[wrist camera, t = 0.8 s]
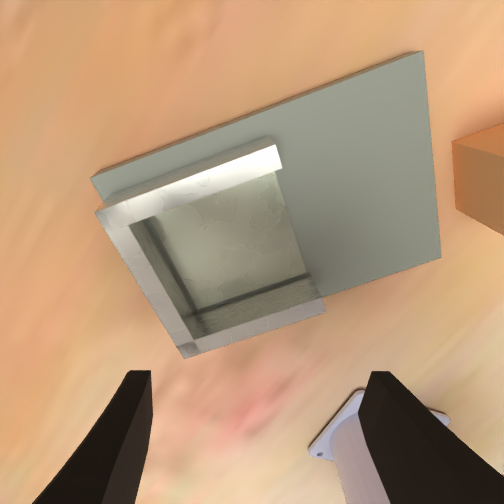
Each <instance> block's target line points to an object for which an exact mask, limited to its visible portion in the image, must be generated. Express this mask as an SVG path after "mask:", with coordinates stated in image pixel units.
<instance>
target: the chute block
mask: <svg viewBox="0 0 504 504" xmlns="http://www.w3.org/2000/svg"><path fill="white" fill-rule="evenodd" d="M452 154H453V171H454V188H455V205H456V209H458V210H459V211H461V212H463V213H465V214H466V215H468V216H470V217H472V218H474V219H475V220H477V221H479V222H481V223H482V224H484V225H486V226H488V227H489V228H491V229H493V230H495V231H496V232H498V233H500V234H502V235H503V236H504V123H502V124H499V125H496V126H494V127H491V128H488V129H485V130H483V131H480V132H477V133H474V134H471V135H469V136H466V137H463V138H460V139H458V140H455V141H452Z"/></svg>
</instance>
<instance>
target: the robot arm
mask: <svg viewBox="0 0 504 504" xmlns="http://www.w3.org/2000/svg"><path fill="white" fill-rule="evenodd" d="M152 418H153V406H152V385H151V370H130V371H129V372H128V373H127V374H126V376H125V378H124V379H123V381H122V383H121V385H120V386H119V388H118V390H117V391H116V393H115V395H114V396H113V398H112V399H111V401H110V402H109V404H108V405H107V407H106V409H105V410H104V412H103V413H102V414H101V416H100V417H99V419H98V420H97V422H96V423H95V424H94V426H93V427H92V429H91V430H90V432H89V433H88V434H87V436H86V437H85V439H84V440H83V441H82V443H81V444H80V445H79V447H78V448H77V449H76V450H75V452H74V453H73V454H72V456H71V457H70V458H69V460H68V461H67V462H66V463H65V465H64V466H63V467H62V469H61V470H60V471H59V472H58V473H57V475H56V476H55V477H54V478H53V480H52V481H51V482H50V483H49V484H48V486H47V487H46V488H45V489H44V490H43V491H42V493H41V494H40V495H39V496H38V497H37V498H36V499H35V501H34V502H33V503H32V504H135V500H136V496H137V492H138V488H139V484H140V480H141V476H142V472H143V468H144V464H145V460H146V455H147V451H148V445H149V439H150V432H151V425H152ZM449 423H450V418H449V417H448V416H447V415H445V414H442V413H438V412H435V411H432V410H428V409H427V408H426V407H425V406H424V405H423V404H422V403H421V402H420V401H419V400H418V399H417V398H416V397H415V396H414V395H413V394H412V393H411V392H410V391H409V390H408V389H407V388H406V387H405V386H404V385H403V384H402V383H401V382H400V381H399V380H398V379H397V378H396V377H395V376H394V375H393V374H391V373H390V372H389V371H372V373H371V375H370V378H369V381H368V384H367V387H366V390H365V391H364V390H358V391H356V392H355V393H354V394H353V396H352V397H351V398H350V399H349V400H348V402H347V403H346V404H345V405H344V406H343V408H342V409H341V410H340V411H339V412H338V414H337V415H336V416H335V417H334V418H333V420H332V421H331V422H330V423H329V424H328V426H327V427H326V428H325V429H324V430H323V432H322V433H321V434H320V435H319V436H318V438H317V439H316V440H315V441H314V442H313V444H312V445H311V446H310V447H309V449H308V452H309V455H310V456H312V457H317V458H322V459H326V460H331V461H334V462H335V466H336V469H337V472H338V475H339V479H340V482H341V485H342V489H343V492H344V495H345V499H346V502H347V504H504V477H503V475H501V474H500V473H499V472H497V471H496V470H495V469H494V468H493V467H491V466H490V465H489V464H488V463H487V462H485V461H484V460H483V459H482V458H481V457H480V456H478V455H477V454H476V453H475V452H474V451H473V450H472V449H470V448H469V447H468V446H467V445H466V444H465V443H464V442H462V441H461V440H460V439H459V438H458V437H457V436H456V435H455V434H454V433H453V432H452V431H450V430H449V429H448V428H447V427H446V426H447V425H448V424H449Z"/></svg>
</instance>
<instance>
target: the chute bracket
mask: <svg viewBox="0 0 504 504" xmlns="http://www.w3.org/2000/svg"><path fill="white" fill-rule="evenodd" d="M279 169H282V165H281V161H280V158H279V155H278V151H277V148H276V145H275V143H274V142H273V141H272V140H271V139H270V137H269V136H268V135H265V136H263V137H260V138H257V139H255V140H252V141H249V142H247V143H244V144H241V145H239V146H236V147H233V148H231V149H228V150H226V151H223V152H220V153H218V154H215V155H212V156H210V157H207V158H204V159H202V160H199V161H196V162H194V163H191V164H188V165H186V166H183V167H180V168H178V169H175V170H173V171H170V172H167V173H165V174H162V175H159V176H157V177H154V178H151V179H149V180H146V181H143V182H141V183H138V184H135V185H133V186H130V187H127V188H125V189H122V190H119V191H117V192H114V193H112V194H110V195H109V196H108V197H107V198H106V200H105V201H104V202H103V203H102V204H101V205H100V206H99V207H98V209H97V210H96V211H95V212H94V213H95V215H96V217H97V218H98V220H99V221H100V223H101V225H102V226H103V228H104V230H105V231H106V233H107V234H108V236H109V238H110V239H111V241H112V243H113V244H114V246H115V247H116V249H117V251H118V252H119V254H120V256H121V257H122V259H123V260H124V262H125V264H126V265H127V267H128V269H129V270H130V272H131V273H132V275H133V277H134V278H135V280H136V282H137V283H138V285H139V286H140V288H141V290H142V291H143V293H144V295H145V296H146V298H147V299H148V301H149V303H150V304H151V306H152V308H153V309H154V311H155V312H156V314H157V316H158V317H159V319H160V321H161V322H162V324H163V325H164V327H165V329H166V330H167V332H168V334H169V335H170V337H171V338H172V340H173V342H174V343H175V345H176V347H177V348H178V350H179V351H180V353H181V355H182V356H183V358H184V359H186V358H189V357H192V356H195V355H198V354H201V353H204V352H207V351H210V350H213V349H216V348H219V347H222V346H225V345H228V344H231V343H235V342H238V341H241V340H244V339H247V338H250V337H253V336H256V335H259V334H262V333H265V332H268V331H271V330H274V329H277V328H280V327H283V326H286V325H289V324H292V323H295V322H298V321H301V320H304V319H307V318H310V317H313V316H316V315H319V314H322V313H325V312H326V309H325V306H324V302H323V299H322V296H321V294H320V292H319V290H318V288H317V286H316V284H315V282H314V279H313V277H312V275H311V273H310V272H309V273H306V268H305V265H304V262H303V259H302V256H301V253H300V250H299V246H298V243H297V240H296V237H295V234H294V231H293V228H292V224H291V221H290V218H289V215H288V212H287V209H286V205H285V202H284V199H283V196H282V193H281V190H280V187H279V183H278V180H277V177H276V174H275V171H276V170H279ZM148 217H149V219H150V221H151V222H152V224H153V226H154V228H155V230H156V232H157V234H158V235H159V237H160V239H161V241H162V243H163V245H164V247H165V249H166V250H167V252H168V254H169V256H170V258H171V260H172V262H173V264H174V265H175V267H176V269H177V271H178V273H179V275H180V277H181V278H182V280H183V282H184V284H185V286H186V288H187V290H188V292H189V293H190V295H191V297H192V299H193V301H194V303H195V305H196V307H197V308H198V309H201V308H204V307H207V306H210V305H213V304H216V303H218V302H221V301H224V300H227V299H230V298H233V297H236V296H239V295H242V294H245V293H248V292H251V291H254V290H256V289H259V288H262V287H265V286H268V285H271V284H274V283H277V282H280V281H283V280H286V279H289V278H292V277H295V276H297V275H300V274H303V273H306V274H303V275H300V276H297V277H295V278H292V279H289V280H286V281H283V282H280V283H277V284H274V285H271V286H268V287H265V288H262V289H259V290H257V291H254V292H251V293H248V294H245V295H242V296H239V297H236V298H233V299H230V300H227V301H224V302H221V303H218V304H216V305H213V306H210V307H207V308H204V309H201V310H198V311H196V309H195V307H194V306H193V304H192V302H191V300H190V298H189V296H188V294H187V293H186V291H185V289H184V287H183V285H182V283H181V281H180V280H179V278H178V276H177V274H176V272H175V270H174V268H173V267H172V265H171V263H170V261H169V259H168V257H167V256H166V254H165V252H164V250H163V248H162V246H161V244H160V243H159V241H158V239H157V237H156V235H155V233H154V231H153V230H152V228H151V226H150V224H149V222H148V220H147V218H148Z"/></svg>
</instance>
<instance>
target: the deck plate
mask: <svg viewBox="0 0 504 504" xmlns="http://www.w3.org/2000/svg"><path fill="white" fill-rule="evenodd" d="M265 135H268V136H269V137H270V139H271V140H272V141H273V142H274V143H275V145H276V148H277V151H278V155H279V158H280V161H281V165H282V169H279V170H276V171H275V174H276V177H277V180H278V183H279V187H280V190H281V193H282V196H283V199H284V202H285V205H286V209H287V212H288V215H289V218H290V221H291V224H292V228H293V231H294V234H295V237H296V240H297V243H298V246H299V250H300V253H301V256H302V259H303V262H304V265H305V268H306V273H309V272H310V273H311V275H312V277H313V279H314V282H315V284H316V286H317V288H318V290H319V292H320V294H321V296H322V297H325V296H328V295H331V294H334V293H337V292H340V291H343V290H346V289H349V288H352V287H355V286H358V285H361V284H364V283H367V282H370V281H373V280H376V279H379V278H382V277H385V276H388V275H391V274H394V273H397V272H400V271H403V270H406V269H409V268H412V267H415V266H418V265H421V264H424V263H427V262H430V261H433V260H436V259H439V258H441V246H440V235H439V223H438V212H437V200H436V189H435V177H434V166H433V154H432V143H431V131H430V120H429V108H428V96H427V85H426V73H425V62H424V51H415V52H409V53H406V54H403V55H401V56H398V57H395V58H393V59H390V60H388V61H385V62H382V63H380V64H377V65H375V66H372V67H369V68H367V69H364V70H362V71H359V72H356V73H354V74H351V75H349V76H346V77H343V78H341V79H338V80H336V81H333V82H330V83H328V84H325V85H323V86H320V87H317V88H315V89H312V90H310V91H307V92H304V93H302V94H299V95H296V96H294V97H291V98H289V99H286V100H283V101H281V102H278V103H276V104H273V105H270V106H268V107H265V108H263V109H260V110H257V111H255V112H252V113H250V114H247V115H244V116H242V117H239V118H237V119H234V120H231V121H229V122H226V123H224V124H221V125H218V126H216V127H213V128H210V129H208V130H205V131H203V132H200V133H197V134H195V135H192V136H190V137H187V138H184V139H182V140H179V141H177V142H174V143H171V144H169V145H166V146H164V147H161V148H158V149H156V150H153V151H151V152H148V153H145V154H143V155H140V156H138V157H135V158H132V159H130V160H127V161H125V162H122V163H119V164H117V165H114V166H111V167H109V168H106V169H104V170H101V171H98V172H97V173H96V174H94V175H93V176H92V177H91V178H90V180H91V181H92V183H93V185H94V187H95V188H96V190H97V192H98V193H99V195H100V197H101V198H102V200H103V202H104V201H105V200H106V198H107V197H108V196H109V195H110V194H112V193H114V192H117V191H119V190H122V189H125V188H127V187H130V186H133V185H135V184H138V183H141V182H143V181H146V180H149V179H151V178H154V177H157V176H159V175H162V174H165V173H167V172H170V171H173V170H175V169H178V168H180V167H183V166H186V165H188V164H191V163H194V162H196V161H199V160H202V159H204V158H207V157H210V156H212V155H215V154H218V153H220V152H223V151H226V150H228V149H231V148H233V147H236V146H239V145H241V144H244V143H247V142H249V141H252V140H255V139H257V138H260V137H263V136H265ZM147 220H148V222H149V224H150V226H151V228H152V230H153V231H154V233H155V235H156V237H157V239H158V241H159V243H160V244H161V246H162V248H163V250H164V252H165V254H166V256H167V257H168V259H169V261H170V263H171V265H172V267H173V268H174V270H175V272H176V274H177V276H178V278H179V280H180V281H181V283H182V285H183V287H184V289H185V291H186V293H187V294H188V296H189V298H190V300H191V302H192V304H193V306H194V307H195V309H196V311H198V310H201V309H204V308H207V307H210V306H213V305H216V304H218V303H221V302H224V301H227V300H230V299H233V298H236V297H239V296H242V295H245V294H248V293H251V292H254V291H257V290H259V289H262V288H265V287H268V286H271V285H274V284H277V283H280V282H283V281H286V280H289V279H292V278H295V277H297V276H300V275H303V274H306V273H303V274H300V275H297V276H295V277H292V278H289V279H286V280H283V281H280V282H277V283H274V284H271V285H268V286H265V287H262V288H259V289H256V290H254V291H251V292H248V293H245V294H242V295H239V296H236V297H233V298H230V299H227V300H224V301H221V302H218V303H216V304H213V305H210V306H207V307H204V308H201V309H198V308H197V307H196V305H195V303H194V301H193V299H192V297H191V295H190V293H189V292H188V290H187V288H186V286H185V284H184V282H183V280H182V278H181V277H180V275H179V273H178V271H177V269H176V267H175V265H174V264H173V262H172V260H171V258H170V256H169V254H168V252H167V250H166V249H165V247H164V245H163V243H162V241H161V239H160V237H159V235H158V234H157V232H156V230H155V228H154V226H153V224H152V222H151V221H150V219H149V217H148V218H147Z"/></svg>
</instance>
